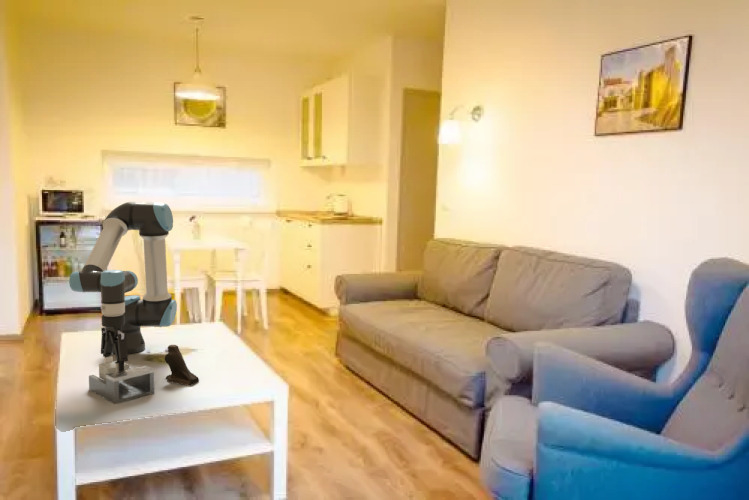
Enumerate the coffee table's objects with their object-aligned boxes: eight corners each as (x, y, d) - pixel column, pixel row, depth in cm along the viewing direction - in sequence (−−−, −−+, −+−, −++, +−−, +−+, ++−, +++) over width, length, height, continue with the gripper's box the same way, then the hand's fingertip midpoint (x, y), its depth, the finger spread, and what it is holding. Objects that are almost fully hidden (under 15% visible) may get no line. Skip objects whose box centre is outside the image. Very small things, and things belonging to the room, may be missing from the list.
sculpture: (172, 376, 220) (171, 342, 218) (200, 381, 215) (199, 346, 213) (161, 381, 214) (160, 346, 213) (189, 386, 210) (189, 350, 208)
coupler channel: (89, 389, 203) (88, 365, 202) (127, 380, 214) (127, 357, 213) (114, 403, 191) (113, 378, 190) (154, 393, 202) (153, 368, 201)
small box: (98, 377, 205) (98, 363, 204) (120, 373, 210) (120, 359, 210) (107, 383, 199) (107, 368, 199) (129, 378, 205) (129, 364, 204)
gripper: (89, 311, 206) (90, 373, 209) (116, 320, 193) (117, 386, 195) (110, 308, 212) (111, 368, 214) (138, 317, 199) (139, 381, 201)
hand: (114, 377), depth 205 cm, fingers closed on small box, 8 cm apart
